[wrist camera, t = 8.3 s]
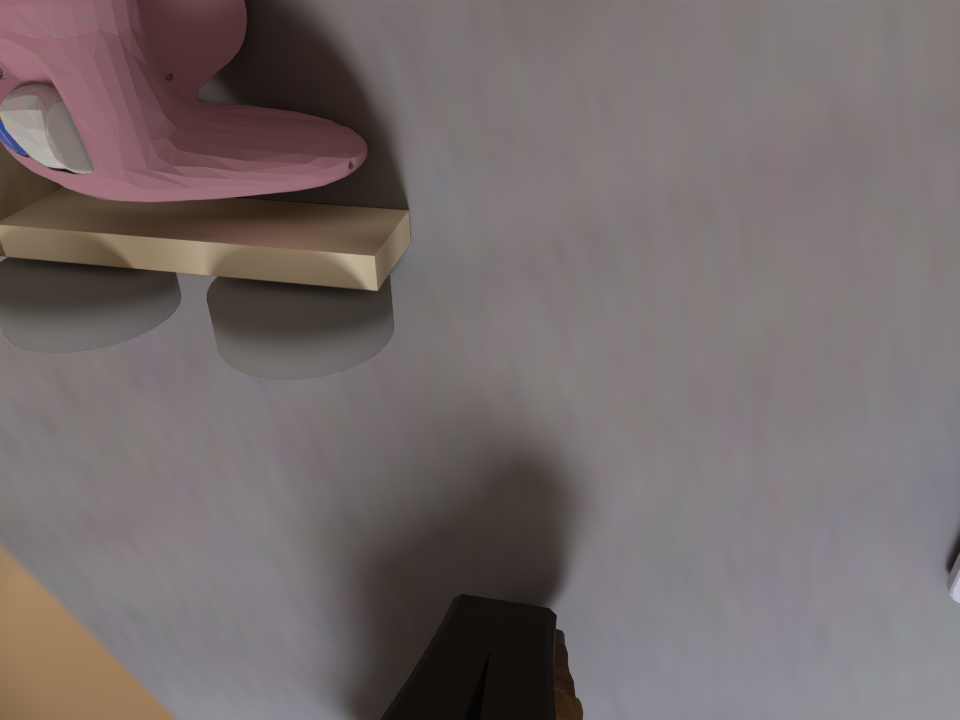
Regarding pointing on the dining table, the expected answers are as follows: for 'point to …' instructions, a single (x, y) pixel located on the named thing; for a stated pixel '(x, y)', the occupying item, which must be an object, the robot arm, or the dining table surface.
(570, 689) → the wooden carving
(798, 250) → the dining table surface
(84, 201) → the chassis
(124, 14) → the pink toy figure
